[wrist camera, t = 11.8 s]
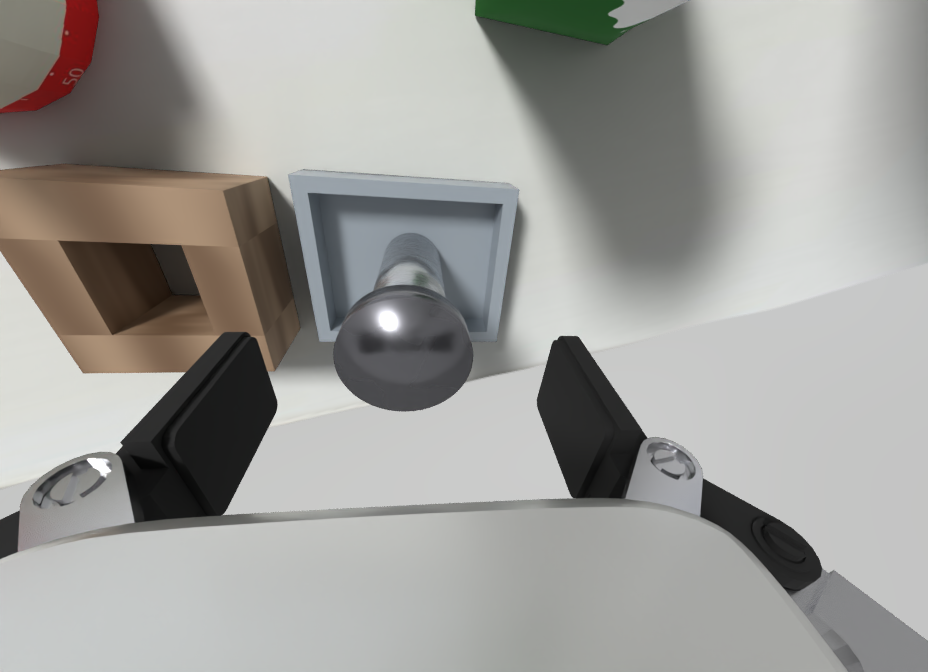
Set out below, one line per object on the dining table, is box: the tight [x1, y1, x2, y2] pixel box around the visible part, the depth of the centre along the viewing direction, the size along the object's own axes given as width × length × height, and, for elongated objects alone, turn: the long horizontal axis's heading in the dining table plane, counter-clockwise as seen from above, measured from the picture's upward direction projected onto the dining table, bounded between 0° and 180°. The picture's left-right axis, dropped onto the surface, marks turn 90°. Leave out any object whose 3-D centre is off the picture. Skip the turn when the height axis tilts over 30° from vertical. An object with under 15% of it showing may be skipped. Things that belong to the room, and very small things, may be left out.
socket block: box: [0, 164, 300, 373], centre depth 18 cm, size 10×10×5 cm
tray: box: [288, 169, 519, 342], centre depth 21 cm, size 12×10×2 cm
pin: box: [333, 233, 473, 411], centre depth 17 cm, size 5×5×11 cm
